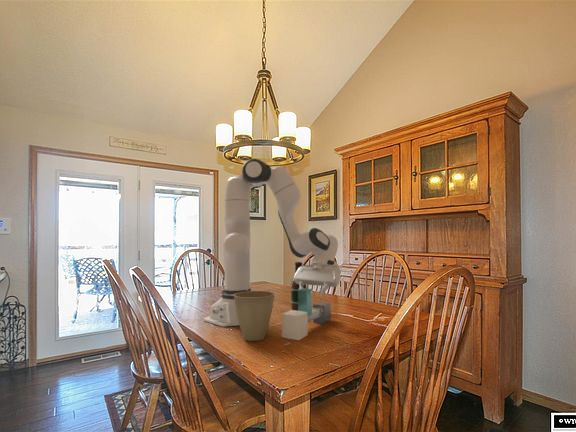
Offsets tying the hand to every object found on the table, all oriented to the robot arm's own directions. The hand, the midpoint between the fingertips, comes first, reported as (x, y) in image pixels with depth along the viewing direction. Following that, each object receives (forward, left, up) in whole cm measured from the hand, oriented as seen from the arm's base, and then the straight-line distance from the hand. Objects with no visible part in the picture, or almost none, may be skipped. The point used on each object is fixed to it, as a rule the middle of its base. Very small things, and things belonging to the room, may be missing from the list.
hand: (310, 292), depth 130 cm
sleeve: (0, +10, -14) cm, 18 cm away
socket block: (0, -13, -14) cm, 19 cm away
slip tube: (0, -4, -11) cm, 11 cm away
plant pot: (-12, -22, -14) cm, 29 cm away
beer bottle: (-18, +22, -14) cm, 32 cm away
